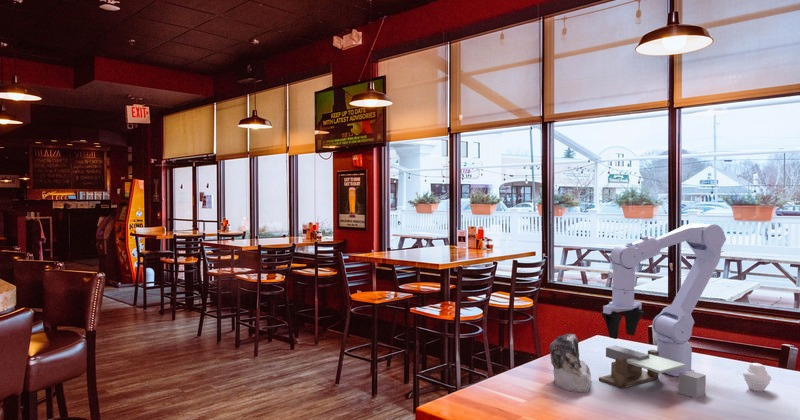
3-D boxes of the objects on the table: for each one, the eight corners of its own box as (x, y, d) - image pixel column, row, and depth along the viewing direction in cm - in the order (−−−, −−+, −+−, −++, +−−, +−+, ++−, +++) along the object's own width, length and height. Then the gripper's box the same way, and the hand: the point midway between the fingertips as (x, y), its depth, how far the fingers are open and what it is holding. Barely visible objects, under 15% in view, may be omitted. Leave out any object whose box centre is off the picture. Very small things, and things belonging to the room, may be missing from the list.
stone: (603, 399, 136) (583, 350, 133) (566, 411, 138) (545, 364, 135) (590, 368, 149) (571, 323, 146) (556, 380, 151) (536, 336, 148)
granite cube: (687, 389, 140) (687, 370, 140) (705, 394, 136) (705, 375, 136) (678, 392, 137) (679, 373, 137) (696, 398, 134) (697, 378, 134)
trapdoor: (623, 352, 154) (623, 343, 154) (685, 371, 139) (685, 361, 139) (598, 358, 149) (598, 349, 149) (659, 378, 133) (660, 367, 133)
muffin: (746, 383, 145) (746, 357, 145) (773, 389, 140) (774, 363, 140) (739, 389, 140) (740, 362, 140) (767, 395, 136) (768, 368, 136)
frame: (635, 370, 154) (636, 345, 154) (658, 378, 148) (658, 351, 148) (598, 380, 145) (599, 353, 145) (621, 388, 140) (622, 359, 139)
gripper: (627, 284, 159) (625, 330, 159) (594, 288, 151) (593, 336, 151) (648, 288, 153) (647, 335, 153) (616, 292, 145) (614, 342, 145)
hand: (621, 336), depth 152 cm, fingers open, 7 cm apart
